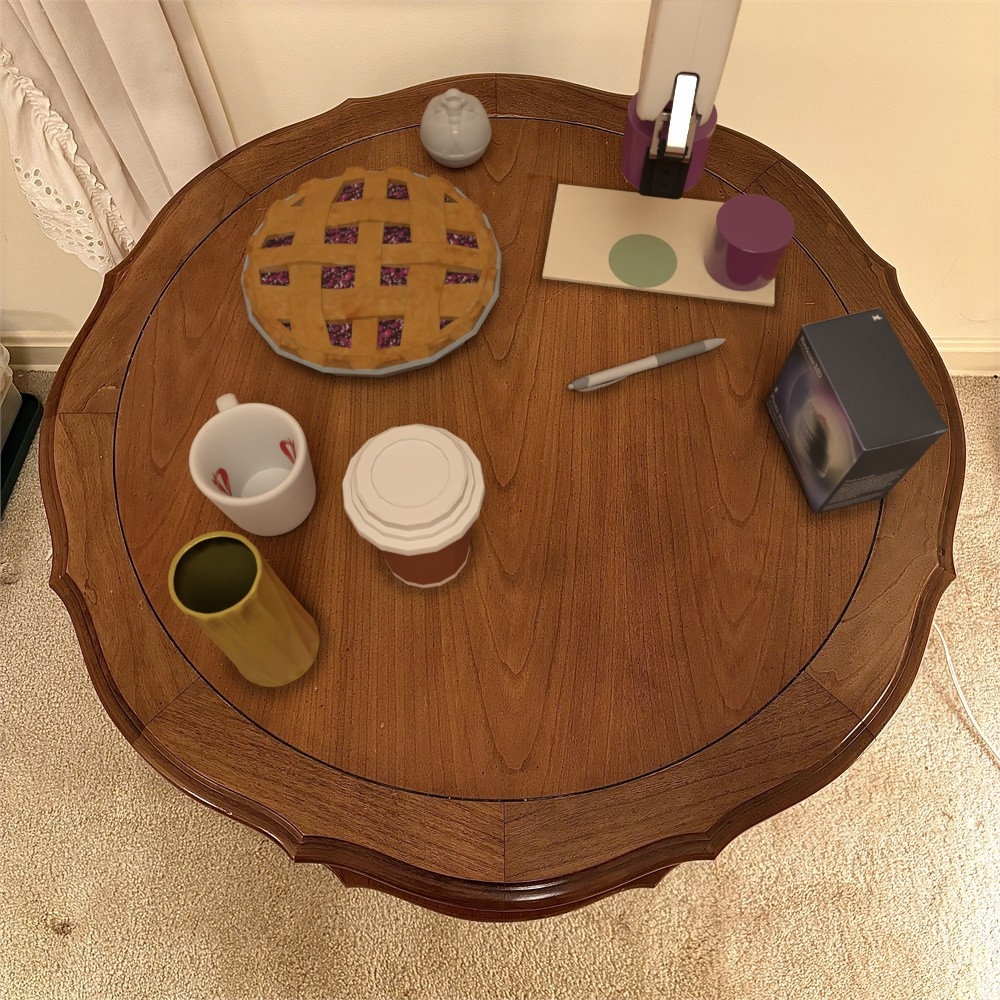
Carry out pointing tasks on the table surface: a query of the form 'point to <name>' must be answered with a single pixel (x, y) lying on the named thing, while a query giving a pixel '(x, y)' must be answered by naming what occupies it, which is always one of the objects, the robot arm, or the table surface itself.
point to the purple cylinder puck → (748, 242)
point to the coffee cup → (416, 500)
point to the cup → (254, 466)
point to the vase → (244, 608)
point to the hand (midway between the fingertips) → (663, 158)
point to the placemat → (637, 244)
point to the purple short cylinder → (641, 138)
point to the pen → (643, 365)
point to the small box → (851, 410)
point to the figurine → (455, 129)
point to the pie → (371, 272)
